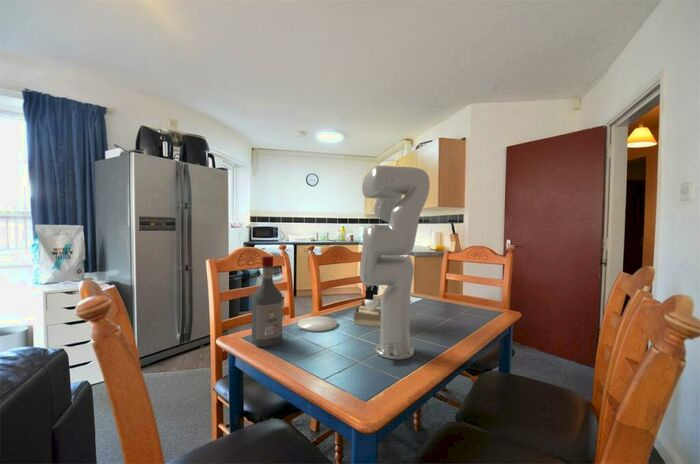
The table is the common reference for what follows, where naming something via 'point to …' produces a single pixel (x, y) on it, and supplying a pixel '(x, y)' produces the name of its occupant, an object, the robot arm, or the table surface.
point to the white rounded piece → (372, 303)
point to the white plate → (317, 323)
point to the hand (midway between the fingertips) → (371, 297)
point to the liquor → (267, 309)
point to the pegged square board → (367, 316)
